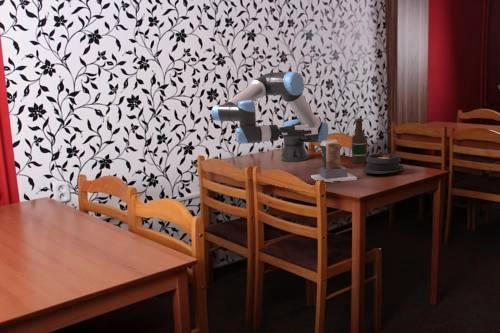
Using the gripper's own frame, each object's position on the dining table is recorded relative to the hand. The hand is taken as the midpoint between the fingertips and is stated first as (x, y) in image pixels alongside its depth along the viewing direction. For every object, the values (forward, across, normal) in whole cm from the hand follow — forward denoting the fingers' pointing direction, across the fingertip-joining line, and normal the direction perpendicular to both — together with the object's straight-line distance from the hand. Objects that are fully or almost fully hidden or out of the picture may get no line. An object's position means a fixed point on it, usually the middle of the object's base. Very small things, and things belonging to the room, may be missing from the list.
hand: (312, 129), depth 256 cm
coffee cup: (+16, -23, -26) cm, 38 cm away
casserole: (+37, -3, -26) cm, 45 cm away
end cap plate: (+10, 0, -25) cm, 27 cm away
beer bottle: (+37, -32, -26) cm, 55 cm away
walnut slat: (+10, 0, -24) cm, 26 cm away
